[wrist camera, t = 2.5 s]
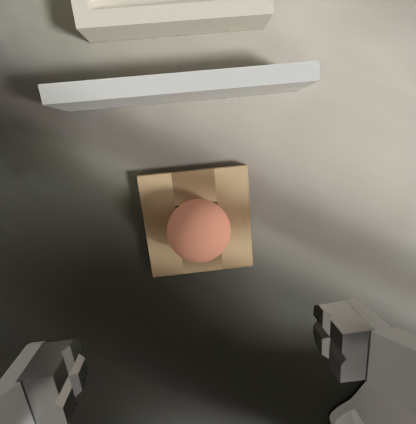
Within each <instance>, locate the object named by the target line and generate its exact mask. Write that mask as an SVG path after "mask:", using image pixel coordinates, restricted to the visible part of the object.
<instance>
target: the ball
mask: <svg viewBox="0 0 416 424" xmlns="http://www.w3.org/2000/svg"><path fill="white" fill-rule="evenodd" d="M230 234H231V227H230V222H229V219H228V217H227V215H226V213H225V212H224V211H223V209H222V208H221V207H220V206H219V205H217V204H216V203H214V202H212V201H209V200H205V199H192V200H189V201H186V202H184V203H182V204H181V205H179V206H178V207H177V208H176V209H175V210H174V211H173V213H172V214H171V216H170V218H169V221H168V225H167V237H168V241H169V243H170V246H171V247H172V249H173V250H174V252H175V253H176V254H177V255H179V256H180V257H181V258H183V259H185V260H187V261H190V262H194V263H203V262H208V261H211V260H213V259H215V258H216V257H218V256H219V255H220V254H221V253H222V252H223V251H224V250H225V248H226V247H227V245H228V243H229V240H230Z"/></svg>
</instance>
